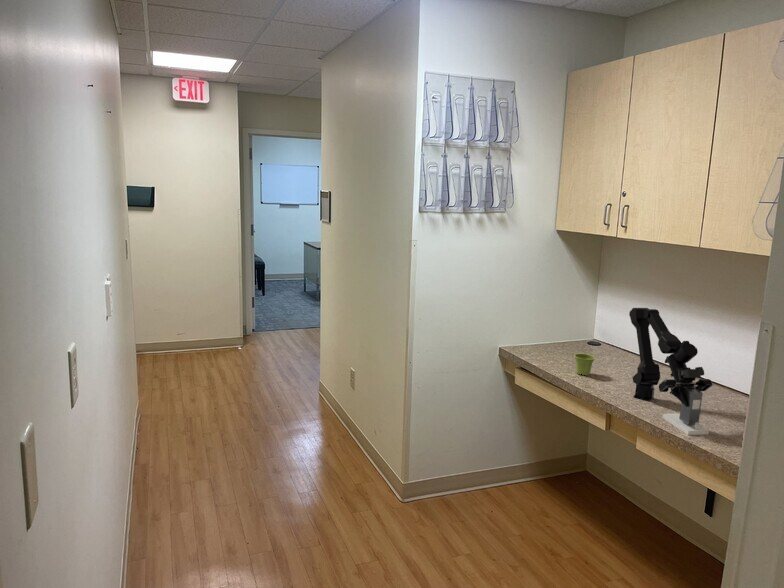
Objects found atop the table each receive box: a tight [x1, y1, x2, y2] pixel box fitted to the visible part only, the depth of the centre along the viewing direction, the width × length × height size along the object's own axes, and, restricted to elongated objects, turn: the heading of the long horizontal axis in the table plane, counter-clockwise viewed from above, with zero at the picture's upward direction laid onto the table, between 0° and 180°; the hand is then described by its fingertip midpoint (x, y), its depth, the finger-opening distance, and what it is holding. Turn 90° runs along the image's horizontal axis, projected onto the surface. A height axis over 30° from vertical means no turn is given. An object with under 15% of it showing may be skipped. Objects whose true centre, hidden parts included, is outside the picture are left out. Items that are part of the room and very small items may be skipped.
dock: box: [662, 412, 710, 436], centre depth 217 cm, size 16×8×4 cm, turn 7°
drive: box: [679, 388, 703, 425], centre depth 214 cm, size 6×4×12 cm
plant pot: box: [573, 353, 596, 376], centre depth 275 cm, size 9×9×9 cm
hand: (693, 406), depth 213 cm, fingers closed on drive, 4 cm apart
